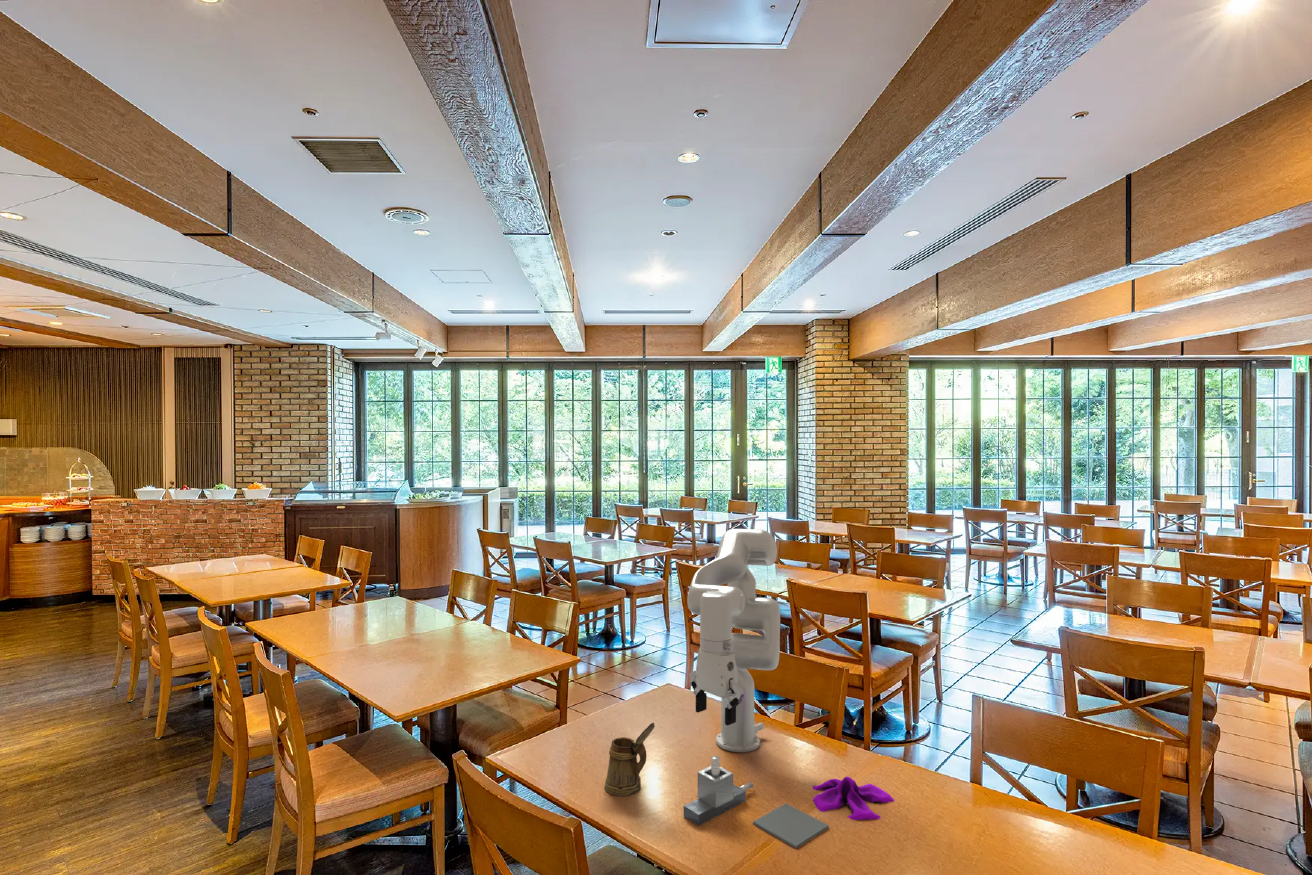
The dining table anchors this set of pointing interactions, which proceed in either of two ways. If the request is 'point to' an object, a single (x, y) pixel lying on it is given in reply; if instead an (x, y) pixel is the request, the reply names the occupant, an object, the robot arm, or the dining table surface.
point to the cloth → (850, 797)
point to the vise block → (704, 812)
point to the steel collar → (715, 787)
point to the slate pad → (791, 825)
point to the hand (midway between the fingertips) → (715, 717)
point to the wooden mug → (626, 764)
